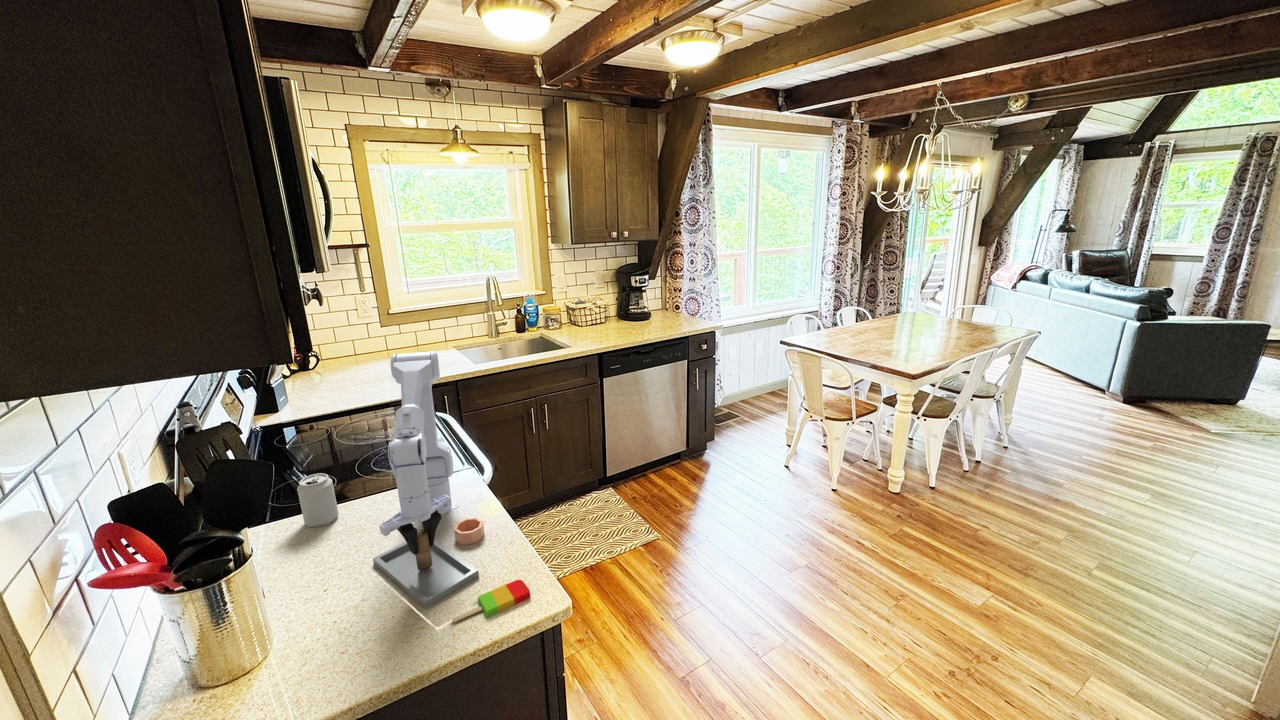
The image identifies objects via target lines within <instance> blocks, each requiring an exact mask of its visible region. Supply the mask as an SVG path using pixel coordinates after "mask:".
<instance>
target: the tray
mask: <svg viewBox="0 0 1280 720" xmlns="http://www.w3.org/2000/svg"><path fill="white" fill-rule="evenodd" d="M430 551H431V558H432V567H431V568H429V569H427V570H424V571H420V570H418V568H417V562H416V555H414V554H413V553H412V552H411V551H410V548H409V546H408V544H407V542H406V541H405V542H403V543H400V544H399V545H397V546H395V547H393V548H390V549H389V550H386V551H384V552H383V553H380V554H379V555H376V556H375V557H373V558H372V562H373V565H374V566H376V568H378V569H379V570H380V571H381V572H382V573H383V574H384V575H386V577H388V578H389V579H390V580H391V581H392V582H393V583H395V584H396V585H397V586H398V587H399V588H400V589H401V590H403V591H404V592H405V593H406V594H407V595H409V596H410V597H411V598H412V599H413V600H414V601H416V602H417V604H418V605H420V606H421V607H422V608H423V609H425V610H427V609H428V608H431V607H432V606H433V605H435V604H437V603H438V602H440V601H442V600H443V599H445V598H446V597H448V596H450V595H451V594H452V593H455V592H456V591H458V590H459V589H461V588H462V587H464V586H466V585H467V584H470V583H471V582H472V581H474V580H475V579H477V578H478V577H480V574H479V570H478V569H477V568H476V567H475V566H473V565H471V564H470V563H468V562H467V561H466V560H464V559H463V558H461V557H460V556H459V555H457V554H455V552H453V551H451V550H450V549H448V548H447V547H446V546H445V545H443V544H441V542H439V541H437V540H436V539H434V545H433V546H431V547H430Z"/></svg>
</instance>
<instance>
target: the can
mask: <svg viewBox="0 0 1280 720" xmlns="http://www.w3.org/2000/svg"><path fill="white" fill-rule="evenodd" d="M298 484H299V485H298V486H297V490H296V491H297V495H298V500H299V505H300V508H301V514H302V517H303V518H302V519H303V523H304V524H305V525H306V526H308V527H311V528H320V527H324V526H328V525H329V524H331V523H332V522H334V521H335V520H336V519H337V517H338V516H339V508H338V504H337V499H336V494H335V488H334V483H333V479H332V478H330V477H329V475H328V474H326V473H322V472H320V473H319V472H318V473H313V474H310V475H307V476H305V477H303V478H302V479H301V480H299V482H298Z"/></svg>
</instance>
